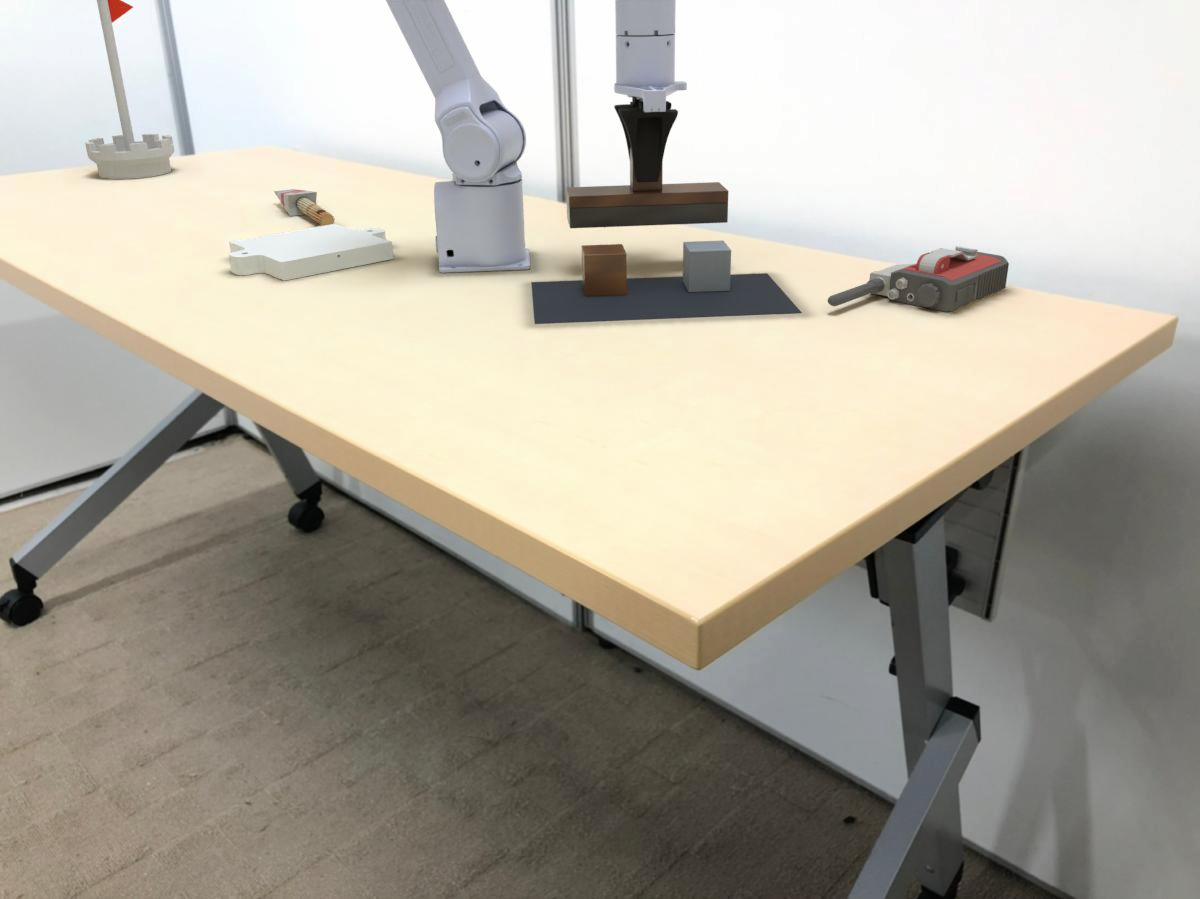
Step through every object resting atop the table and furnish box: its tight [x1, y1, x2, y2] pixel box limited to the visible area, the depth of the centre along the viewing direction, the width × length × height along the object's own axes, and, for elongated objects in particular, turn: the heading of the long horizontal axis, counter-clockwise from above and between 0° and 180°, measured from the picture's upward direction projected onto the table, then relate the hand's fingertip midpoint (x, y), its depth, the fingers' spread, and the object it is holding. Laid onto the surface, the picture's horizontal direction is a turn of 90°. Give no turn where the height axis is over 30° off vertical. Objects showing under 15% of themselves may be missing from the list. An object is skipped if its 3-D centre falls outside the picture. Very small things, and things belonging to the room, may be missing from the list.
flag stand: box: [84, 0, 175, 180], centre depth 167 cm, size 13×13×30 cm
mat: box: [530, 272, 803, 325], centre depth 101 cm, size 24×14×1 cm, turn 95°
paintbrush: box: [273, 188, 335, 226], centre depth 140 cm, size 4×3×20 cm
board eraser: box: [565, 147, 729, 229], centre depth 108 cm, size 16×5×7 cm, turn 95°
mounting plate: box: [228, 223, 394, 282], centre depth 117 cm, size 18×13×2 cm
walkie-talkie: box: [827, 245, 1010, 313], centre depth 98 cm, size 9×4×20 cm
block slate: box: [682, 240, 732, 292], centre depth 103 cm, size 4×4×4 cm
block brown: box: [580, 243, 628, 296], centre depth 102 cm, size 4×4×4 cm
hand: (645, 179), depth 107 cm, fingers closed on board eraser, 2 cm apart
